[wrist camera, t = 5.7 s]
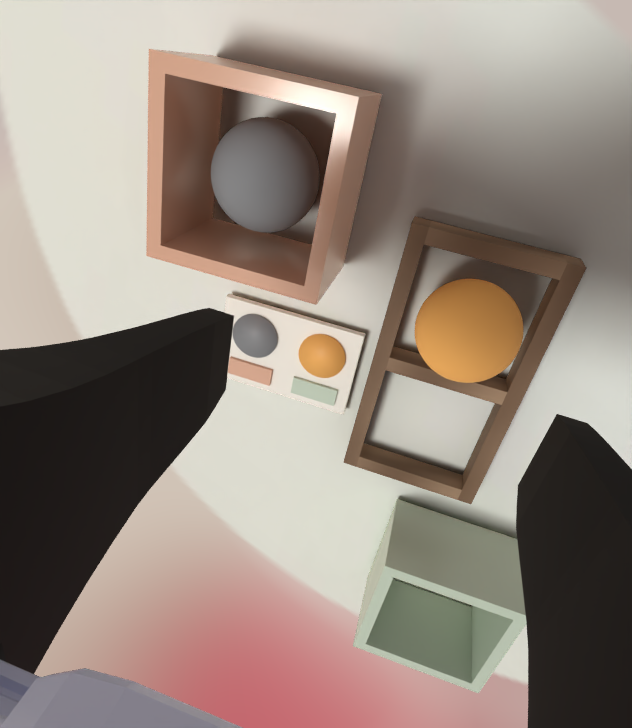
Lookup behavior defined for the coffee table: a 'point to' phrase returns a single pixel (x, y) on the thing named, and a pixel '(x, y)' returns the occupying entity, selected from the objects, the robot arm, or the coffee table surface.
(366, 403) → the rack
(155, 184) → the pink open box
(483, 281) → the orange ball
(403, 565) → the sage open box
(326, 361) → the card
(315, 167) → the grey ball
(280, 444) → the coffee table surface
